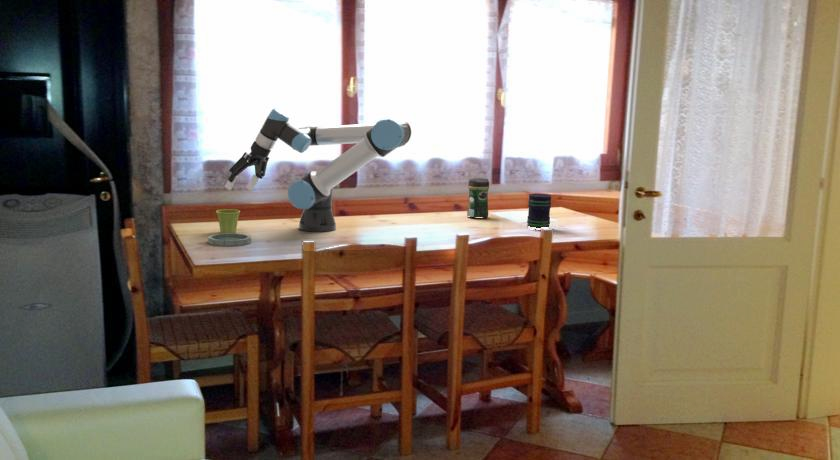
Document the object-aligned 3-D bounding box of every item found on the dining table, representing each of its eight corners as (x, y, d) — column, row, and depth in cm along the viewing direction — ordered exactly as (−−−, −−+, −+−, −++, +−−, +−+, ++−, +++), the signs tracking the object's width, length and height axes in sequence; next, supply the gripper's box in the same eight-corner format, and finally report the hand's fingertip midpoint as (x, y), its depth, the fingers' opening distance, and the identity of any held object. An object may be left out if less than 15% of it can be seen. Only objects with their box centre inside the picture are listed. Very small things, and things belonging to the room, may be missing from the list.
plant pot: (228, 235, 316) (228, 213, 315) (211, 232, 321) (210, 211, 320) (245, 232, 324) (245, 211, 323) (228, 229, 329) (228, 208, 328)
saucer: (258, 240, 309) (258, 235, 309) (238, 247, 295) (238, 242, 294) (221, 236, 313) (221, 231, 313) (200, 244, 299) (200, 238, 298)
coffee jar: (480, 215, 387) (482, 177, 384) (490, 218, 381) (492, 179, 377) (464, 216, 382) (465, 177, 379) (473, 219, 376) (475, 179, 372)
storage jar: (553, 229, 356) (556, 195, 354) (541, 231, 349) (543, 197, 347) (535, 226, 363) (537, 193, 360) (522, 228, 356) (524, 194, 353)
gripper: (275, 142, 336) (251, 184, 341) (237, 136, 313) (211, 182, 319) (287, 152, 333) (263, 194, 339) (249, 147, 311) (224, 193, 316)
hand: (238, 188), depth 329 cm, fingers open, 13 cm apart
